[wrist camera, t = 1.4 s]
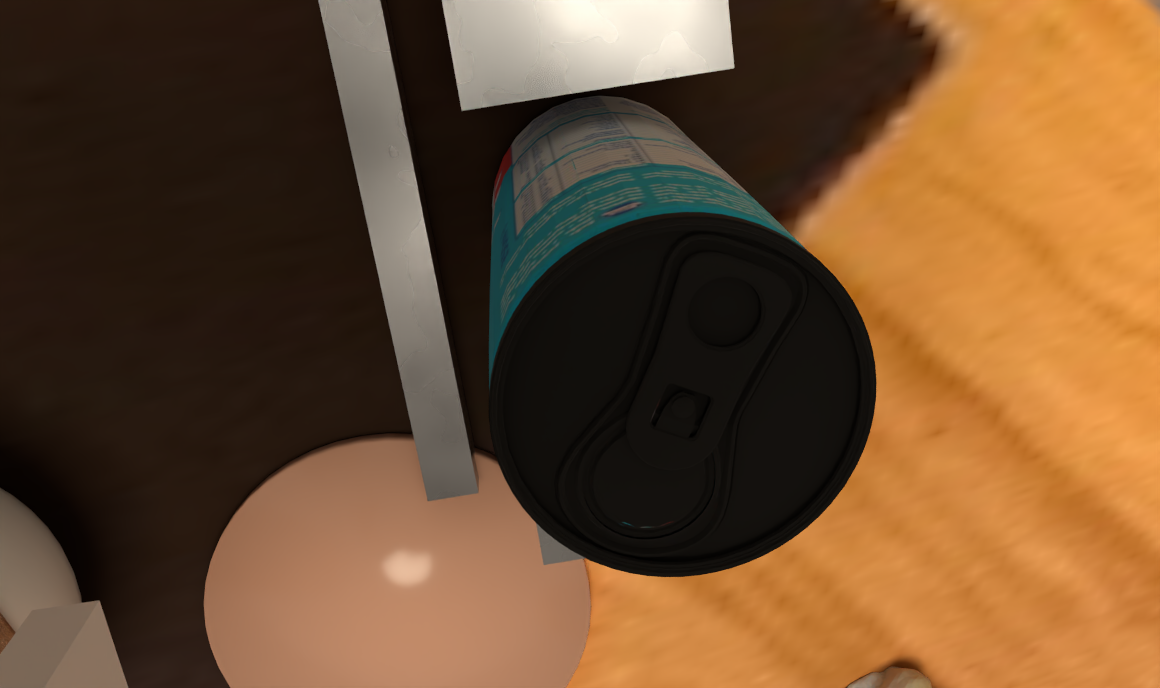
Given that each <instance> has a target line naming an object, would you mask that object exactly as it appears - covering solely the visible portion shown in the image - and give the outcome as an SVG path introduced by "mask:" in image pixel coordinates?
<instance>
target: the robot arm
mask: <svg viewBox="0 0 1160 688" xmlns="http://www.w3.org/2000/svg"><path fill="white" fill-rule="evenodd" d="M0 688H128V686H127V683H126V680H125V677H124V674H123V671H122V668H121V665H120V662H119V659H118V656H117V653H116V649H115V646H114V643H113V640H112V637H111V634H110V631H109V628H108V625H107V622H106V619H105V616H104V613H103V610H102V607H101V604H100V601H99V600H98V601H91V602H85V603H78V604H71V605H64V606H57V607H51V608H44V609H37V610H32V611H31V612H30V614H29V615H28V616H27V618H26V619H25V621H24V622H23V623H22V625H21V626H20V628H19V629H18V630H17V632H16V633H15V634H14V636H13V637H12V639H11V640H10V641H9V643H8V644H7V645H6V647H5V648H4V650H3V651H2V652H1V654H0Z"/></svg>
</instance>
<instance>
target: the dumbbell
mask: <svg viewBox="0 0 1160 688" xmlns="http://www.w3.org/2000/svg"><path fill="white" fill-rule="evenodd" d="M318 1H319V6H320V10H321V15H322V19H323V24H324V29H325V33H326V38H327V42H328V47H329V51H330V56H331V61H332V65H333V70H334V74H335V79H336V84H337V88H338V93H339V97H340V102H341V106H342V111H343V116H344V120H345V125H346V129H347V134H348V138H349V143H350V148H351V152H352V157H353V161H354V166H355V170H356V175H357V180H358V184H359V189H360V193H361V198H362V202H363V207H364V212H365V216H366V221H367V225H368V230H369V235H370V239H371V244H372V248H373V253H374V257H375V262H376V267H377V271H378V276H379V280H380V285H381V289H382V294H383V299H384V303H385V308H386V312H387V317H388V321H389V326H390V331H391V335H392V340H393V344H394V349H395V353H396V358H397V363H398V367H399V372H400V376H401V381H402V386H403V390H404V395H405V399H406V404H407V408H408V413H409V418H410V422H411V427H412V431H413V436H414V440H415V445H416V450H417V454H418V459H419V463H420V468H421V472H422V477H423V482H424V486H425V491H426V495H427V500H428V501H433V500H439V499H446V498H452V497H458V496H464V495H470V494H476V493H479V476H478V471H477V466H476V461H475V456H474V455H475V446H474V441H473V435H472V430H471V425H470V420H469V415H468V410H467V405H466V400H465V395H464V390H463V385H462V380H461V375H460V370H459V365H458V359H457V354H456V349H455V344H454V339H453V334H452V329H451V324H450V319H449V314H448V309H447V304H446V299H445V294H444V288H443V283H442V278H441V273H440V268H439V263H438V258H437V253H436V248H435V243H434V238H433V233H432V228H431V223H430V218H429V212H428V207H427V202H426V197H425V192H424V187H423V182H422V177H421V172H420V167H419V162H418V157H417V152H416V147H415V142H414V136H413V131H412V126H411V121H410V116H409V111H408V106H407V101H406V96H405V91H404V86H403V81H402V76H401V71H400V66H399V60H398V55H397V50H396V45H395V40H394V35H393V30H392V25H391V20H390V15H389V10H388V5H387V0H318ZM442 4H443V9H444V15H445V21H446V26H447V32H448V37H449V43H450V48H451V54H452V59H453V65H454V70H455V76H456V82H457V87H458V93H459V98H460V104H461V109H462V111H464V110H470V109H477V108H483V107H490V106H496V105H502V104H509V103H515V102H522V101H528V100H534V99H541V98H547V97H553V96H560V95H566V94H573V93H579V92H585V91H592V90H598V89H605V88H611V87H617V86H624V85H630V84H637V83H643V82H649V81H656V80H662V79H669V78H675V77H681V76H688V75H694V74H701V73H707V72H713V71H720V70H726V69H733V68H734V60H733V49H732V38H731V27H730V16H729V5H728V0H442ZM536 525H537V531H538V537H539V542H540V548H541V553H542V559H543V564H544V565H548V564H554V563H560V562H566V561H572V560H578V559H584V558H585V557H583V556H581V555H579V554H577V553H575V552H573V551H571V550H570V549H568V548H567V547H565V546H564V545H562V544H560V543H559V542H557V541H556V540H555V539H554V538H552V537H551V536H550V535H549V534H547V533H546V532H545V531H544V530H543V529H542V528H541V527H540V526H539V525H538V524H537V523H536Z"/></svg>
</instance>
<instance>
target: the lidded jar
mask: <svg viewBox="0 0 1160 688" xmlns="http://www.w3.org/2000/svg"><path fill="white" fill-rule="evenodd" d="M78 603H82V601H81V594H80V591H79V587H78V584H77V581H76V577H75V574H74V572H73V569H72V567H71V565H70V563H69V561H68V559H67V557H66V555H65V553H64V551H63V549H62V547H61V545H60V544H59V542H58V541H57V540H56V538H55V537H54V535H53V534H52V533H51V531H50V530H49V528H48V527H47V526H46V525H45V524H44V523H43V522H42V521H41V520H40V519H39V518H38V517H37V516H36V514H35V513H34V512H33V511H32V510H31V509H29V508H28V507H27V506H26V505H24V504H23V503H22V502H20V501H19V500H18V499H17V498H15V497H14V496H13V495H11V494H10V493H8V492H6V491H5V490H3V489H1V488H0V654H1V652H2V651H3V650H4V648H5V647H6V645H7V644H8V643H9V641H10V640H11V639H12V637H13V636H14V634H15V633H16V632H17V630H18V629H19V628H20V626H21V625H22V623H23V622H24V621H25V619H26V618H27V616H28V615H29V614H30V612H31V611H32V610H37V609H44V608H51V607H57V606H64V605H71V604H78Z"/></svg>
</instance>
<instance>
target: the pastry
mask: <svg viewBox="0 0 1160 688" xmlns="http://www.w3.org/2000/svg"><path fill="white" fill-rule="evenodd" d="M847 688H932V686H931V683H930V680H929V678H928V677H926V676H925V675H923V674H922V673H920V672H919V671H917V670H915V669H907V668H899V667H889V668H887V669H886V670H885V671H883V672H879V673H878V672H873V673H870V674H868V675H866V676H864V677H862V678H860V679H858V680H856V681H855V682H853V683H851V684H850V685H849V686H848V687H847Z"/></svg>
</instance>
